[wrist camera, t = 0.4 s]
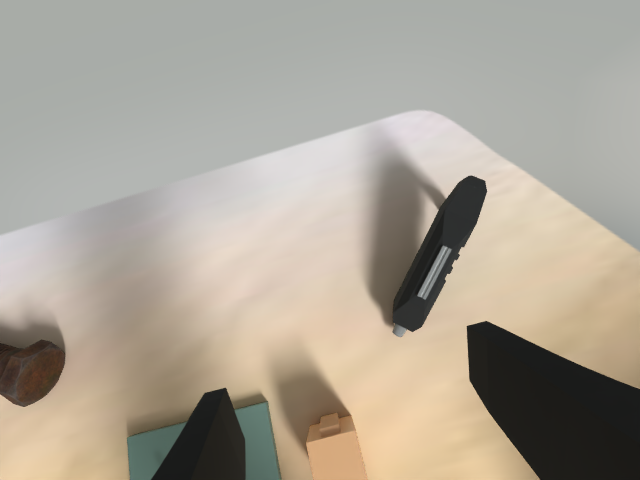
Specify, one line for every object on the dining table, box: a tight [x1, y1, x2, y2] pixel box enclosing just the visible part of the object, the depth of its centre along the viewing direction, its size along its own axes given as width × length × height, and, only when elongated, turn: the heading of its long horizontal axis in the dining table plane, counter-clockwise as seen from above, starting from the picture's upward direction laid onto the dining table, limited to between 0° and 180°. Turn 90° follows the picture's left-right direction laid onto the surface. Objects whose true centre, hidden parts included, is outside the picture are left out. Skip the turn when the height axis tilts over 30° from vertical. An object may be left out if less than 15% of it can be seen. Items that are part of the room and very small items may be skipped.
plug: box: [306, 413, 368, 480], centre depth 30 cm, size 5×4×6 cm
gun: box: [392, 176, 487, 337], centre depth 35 cm, size 3×16×10 cm, turn 154°
